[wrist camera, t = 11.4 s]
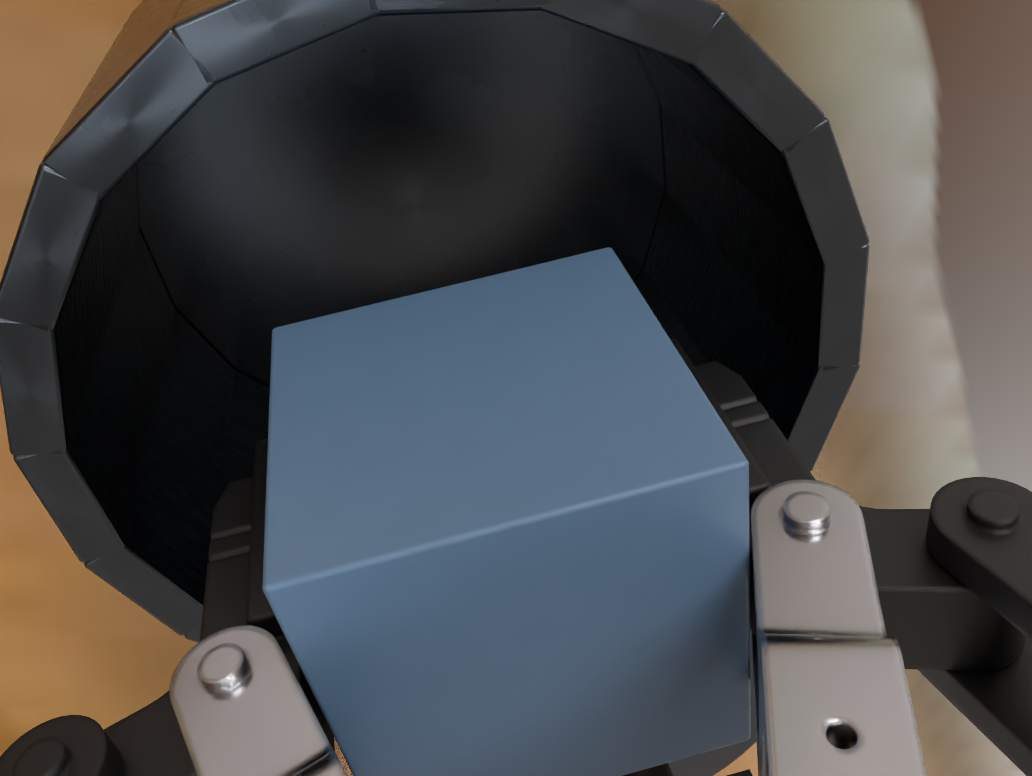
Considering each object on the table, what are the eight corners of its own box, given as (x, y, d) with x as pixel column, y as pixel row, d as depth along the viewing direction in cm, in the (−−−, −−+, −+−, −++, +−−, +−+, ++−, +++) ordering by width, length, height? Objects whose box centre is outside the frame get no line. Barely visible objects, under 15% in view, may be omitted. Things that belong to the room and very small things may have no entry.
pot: (21, 328, 21) (-105, 599, 15) (243, -302, 16) (205, -341, 9) (510, 487, 27) (583, 733, 20) (799, 70, 22) (1035, 218, 15)
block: (361, 566, 16) (385, 845, 12) (270, 326, 13) (260, 590, 9) (638, 494, 16) (752, 740, 12) (611, 244, 13) (751, 461, 9)
